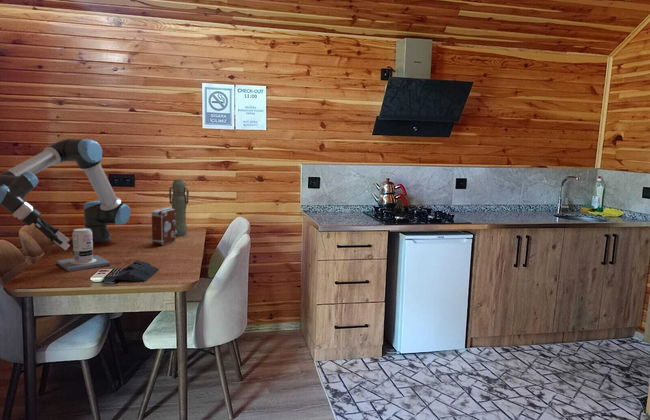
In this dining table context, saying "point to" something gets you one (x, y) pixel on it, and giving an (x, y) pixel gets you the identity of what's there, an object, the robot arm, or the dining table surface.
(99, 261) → the board
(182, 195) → the thermos
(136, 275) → the crumpled black cloth
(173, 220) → the cine camera
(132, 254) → the dining table surface
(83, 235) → the supplement can
